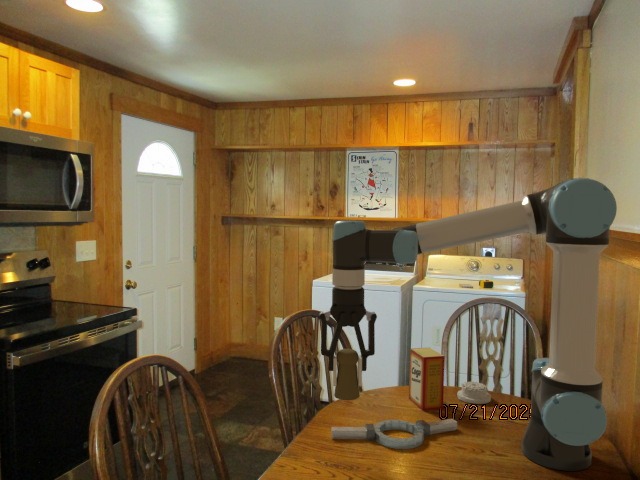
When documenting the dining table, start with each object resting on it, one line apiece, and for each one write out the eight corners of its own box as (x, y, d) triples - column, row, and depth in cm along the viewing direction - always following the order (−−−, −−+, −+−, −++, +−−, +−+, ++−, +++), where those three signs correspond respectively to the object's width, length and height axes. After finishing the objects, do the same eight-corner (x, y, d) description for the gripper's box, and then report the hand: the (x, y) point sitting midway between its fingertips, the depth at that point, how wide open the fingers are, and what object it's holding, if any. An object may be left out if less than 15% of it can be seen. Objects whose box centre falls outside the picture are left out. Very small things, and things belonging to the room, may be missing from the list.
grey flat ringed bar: (454, 426, 137) (455, 416, 137) (469, 449, 124) (470, 438, 124) (330, 425, 137) (330, 415, 137) (332, 448, 124) (332, 437, 124)
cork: (329, 396, 121) (329, 350, 120) (342, 389, 126) (343, 345, 125) (351, 402, 117) (351, 354, 117) (364, 394, 122) (365, 349, 122)
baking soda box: (408, 398, 157) (410, 347, 156) (428, 397, 159) (429, 346, 158) (422, 410, 148) (424, 356, 147) (443, 408, 150) (444, 354, 149)
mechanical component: (458, 403, 155) (492, 406, 153) (458, 389, 154) (493, 391, 152) (456, 392, 164) (488, 394, 162) (456, 378, 164) (489, 381, 162)
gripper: (384, 284, 124) (383, 378, 125) (309, 283, 123) (308, 378, 125) (389, 289, 116) (387, 389, 118) (309, 288, 116) (308, 389, 117)
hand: (347, 383), depth 121 cm, fingers closed on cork, 5 cm apart
